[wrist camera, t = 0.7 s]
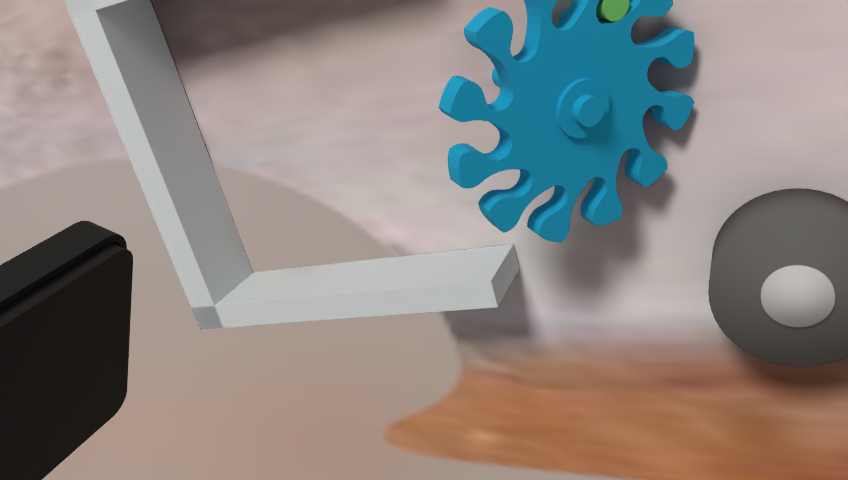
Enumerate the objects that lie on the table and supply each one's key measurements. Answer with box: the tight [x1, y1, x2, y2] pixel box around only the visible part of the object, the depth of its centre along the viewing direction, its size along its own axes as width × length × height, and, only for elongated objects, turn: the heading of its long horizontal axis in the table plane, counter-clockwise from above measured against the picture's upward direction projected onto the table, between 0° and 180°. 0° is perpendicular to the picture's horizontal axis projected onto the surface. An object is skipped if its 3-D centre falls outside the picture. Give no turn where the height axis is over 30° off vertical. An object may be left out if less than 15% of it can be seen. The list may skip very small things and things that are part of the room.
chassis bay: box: [64, 0, 520, 329], centre depth 35 cm, size 15×16×4 cm
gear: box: [439, 0, 694, 243], centre depth 29 cm, size 11×6×10 cm
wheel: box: [708, 189, 848, 367], centre depth 30 cm, size 6×6×3 cm
